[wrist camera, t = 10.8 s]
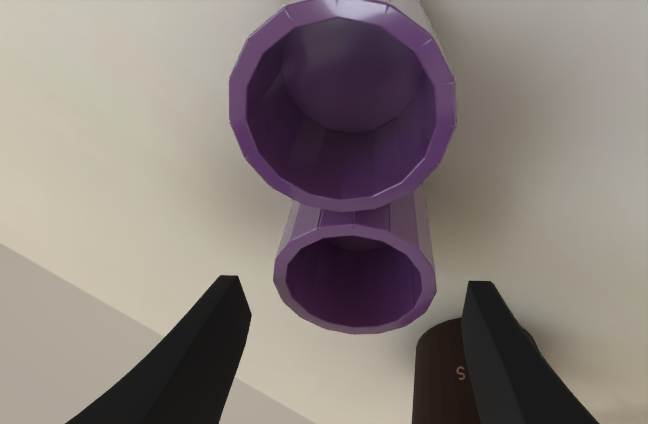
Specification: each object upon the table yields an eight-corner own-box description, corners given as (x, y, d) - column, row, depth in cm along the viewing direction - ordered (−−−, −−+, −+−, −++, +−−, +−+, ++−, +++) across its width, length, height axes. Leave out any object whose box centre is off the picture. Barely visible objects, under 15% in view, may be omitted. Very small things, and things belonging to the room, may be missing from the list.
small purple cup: (379, -78, 10) (376, -73, 7) (463, 85, 12) (494, 155, 9) (240, 40, 12) (182, 92, 9) (332, 159, 15) (315, 237, 11)
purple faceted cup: (382, 122, 14) (380, 197, 10) (446, 220, 16) (464, 309, 12) (273, 185, 16) (241, 264, 12) (343, 263, 18) (332, 348, 15)
